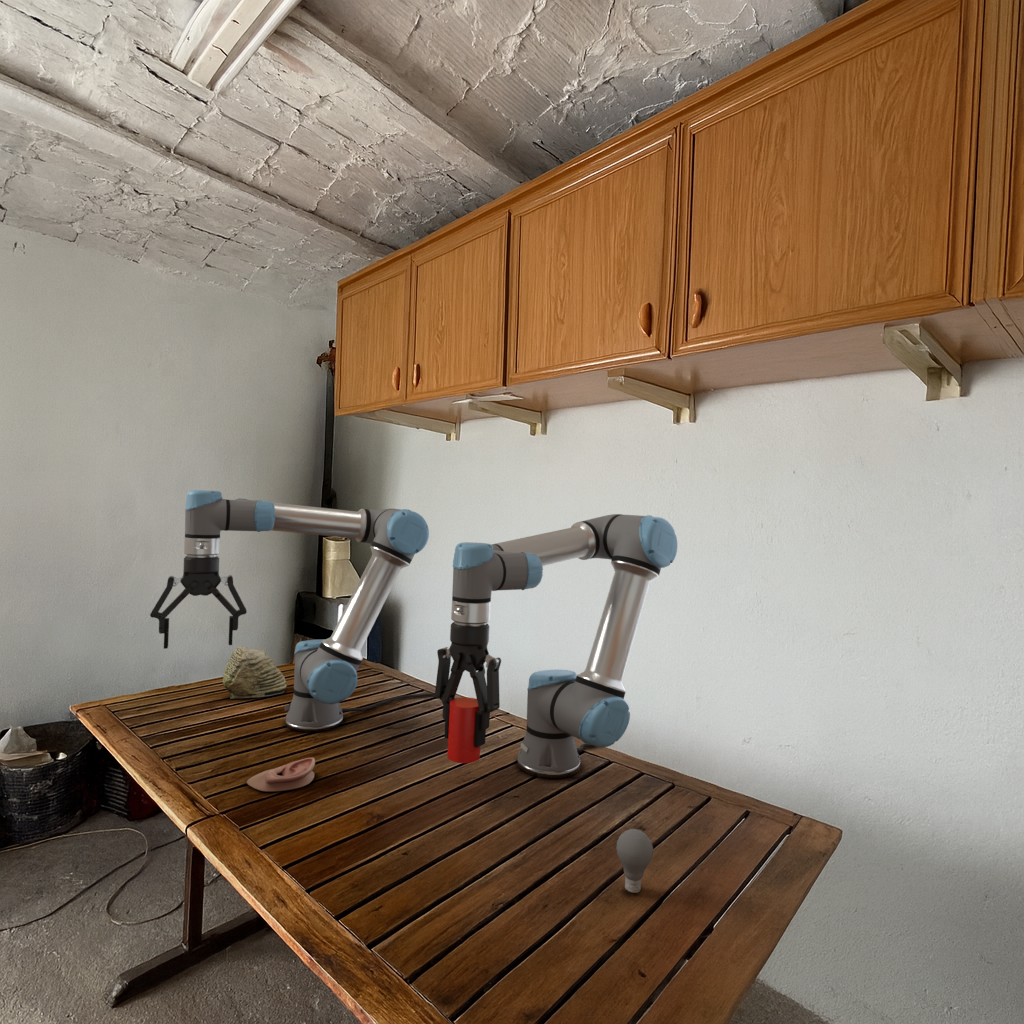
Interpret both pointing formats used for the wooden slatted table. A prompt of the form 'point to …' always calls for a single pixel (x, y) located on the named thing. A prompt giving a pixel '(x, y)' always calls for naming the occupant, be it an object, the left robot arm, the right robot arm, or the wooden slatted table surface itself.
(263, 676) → the fossil
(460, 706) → the tin
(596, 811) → the wooden slatted table surface
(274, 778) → the anatomical model
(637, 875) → the light bulb
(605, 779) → the wooden slatted table surface
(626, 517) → the right robot arm
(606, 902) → the wooden slatted table surface
